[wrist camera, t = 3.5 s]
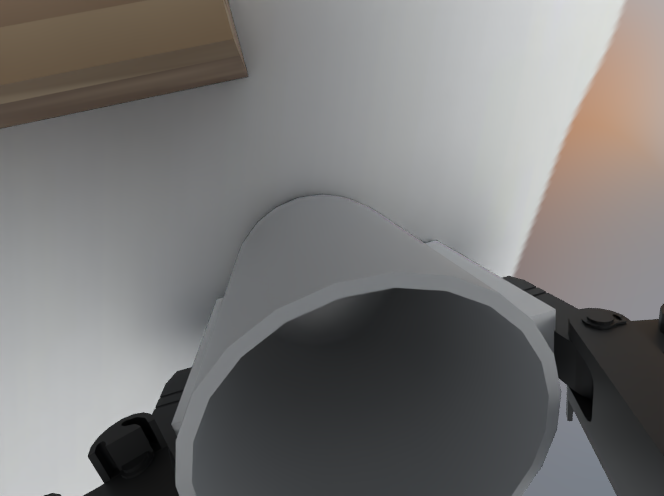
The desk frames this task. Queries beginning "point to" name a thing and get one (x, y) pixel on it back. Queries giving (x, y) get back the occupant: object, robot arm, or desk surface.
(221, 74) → the wooden tray
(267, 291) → the cup
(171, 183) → the desk surface
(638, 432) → the robot arm
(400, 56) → the desk surface
